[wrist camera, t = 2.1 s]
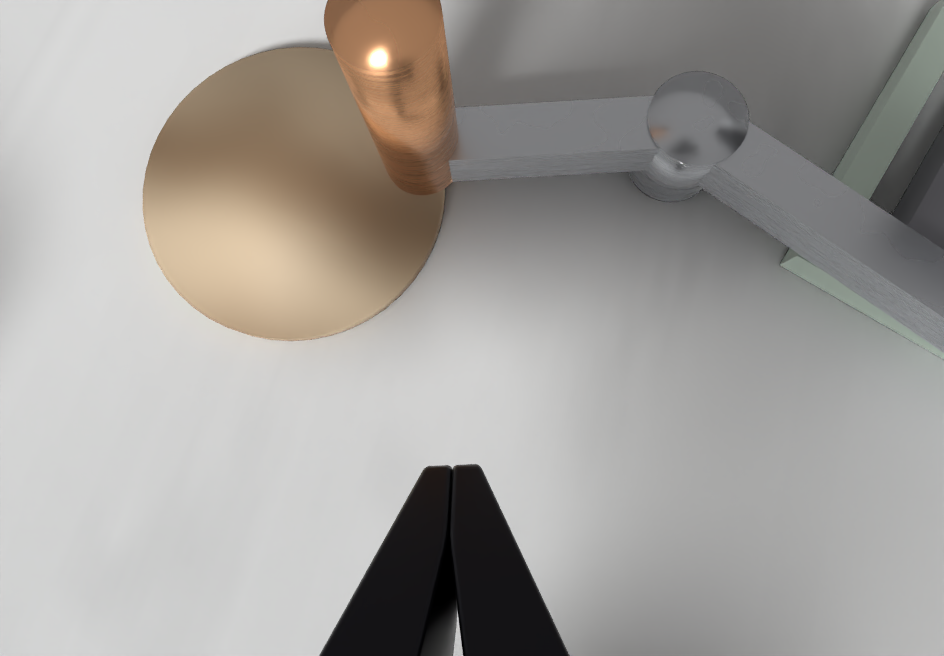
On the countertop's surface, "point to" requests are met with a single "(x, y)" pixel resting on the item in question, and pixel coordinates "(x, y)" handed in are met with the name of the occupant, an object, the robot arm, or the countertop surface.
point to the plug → (926, 196)
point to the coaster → (282, 202)
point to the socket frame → (885, 152)
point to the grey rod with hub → (626, 153)
